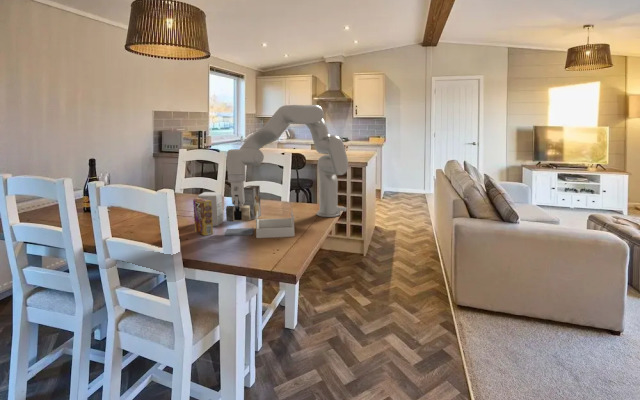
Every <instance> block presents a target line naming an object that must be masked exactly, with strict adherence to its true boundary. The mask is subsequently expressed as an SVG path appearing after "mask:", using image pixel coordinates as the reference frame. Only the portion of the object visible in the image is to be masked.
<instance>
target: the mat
mask: <svg viewBox="0 0 640 400" xmlns="http://www.w3.org/2000/svg"><path fill="white" fill-rule="evenodd" d="M253 233H254V227H246V228H245V227H242V228H226V230H225V232H224V237H233V236H234V237H235V236H237V237H238V236H240V237H241V236H253Z"/></svg>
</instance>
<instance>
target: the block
mask: <svg viewBox="0 0 640 400" xmlns="http://www.w3.org/2000/svg"><path fill="white" fill-rule="evenodd" d="M241 212H242V220H234V205H226V207H225V217H226V223H227V222H228V223H229V222H237V223H238V222H250V221H251V219H250V205H245V206H243V205H242V206H241Z"/></svg>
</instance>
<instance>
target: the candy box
mask: <svg viewBox="0 0 640 400" xmlns="http://www.w3.org/2000/svg"><path fill="white" fill-rule="evenodd" d="M192 202H193V219H194V233H196V234H199V235H203V236H204V237H205V236H211V235H213V234H214V231H213V230H214V229H213V227H214V226H212V203H211V200H207V199H202V198H198V197H197V198H193V199H192Z"/></svg>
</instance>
